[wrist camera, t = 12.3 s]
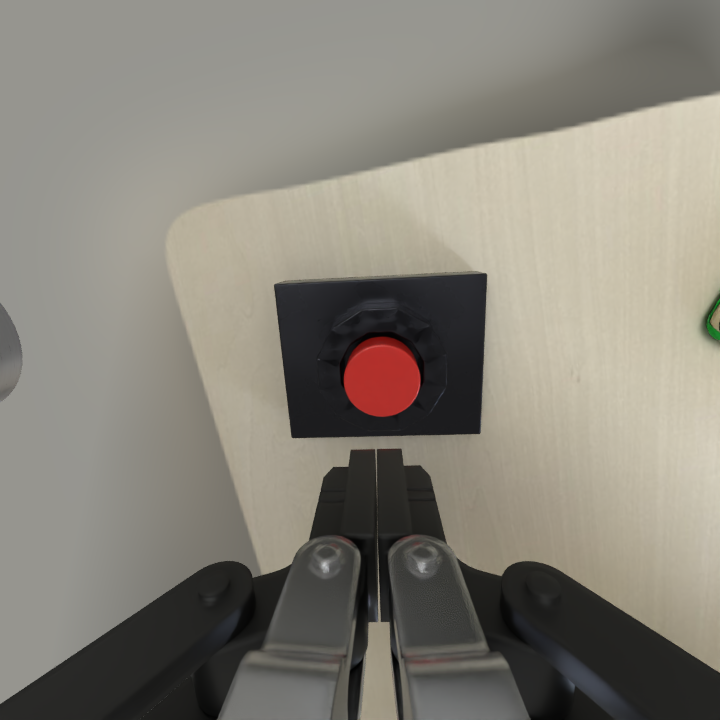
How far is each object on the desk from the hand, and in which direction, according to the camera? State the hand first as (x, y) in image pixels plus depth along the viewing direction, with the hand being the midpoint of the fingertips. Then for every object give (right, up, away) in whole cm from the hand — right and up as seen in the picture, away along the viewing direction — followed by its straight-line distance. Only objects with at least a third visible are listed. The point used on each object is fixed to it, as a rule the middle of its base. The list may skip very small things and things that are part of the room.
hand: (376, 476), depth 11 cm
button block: (+1, +4, +11) cm, 12 cm away
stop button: (+1, +3, +8) cm, 8 cm away
